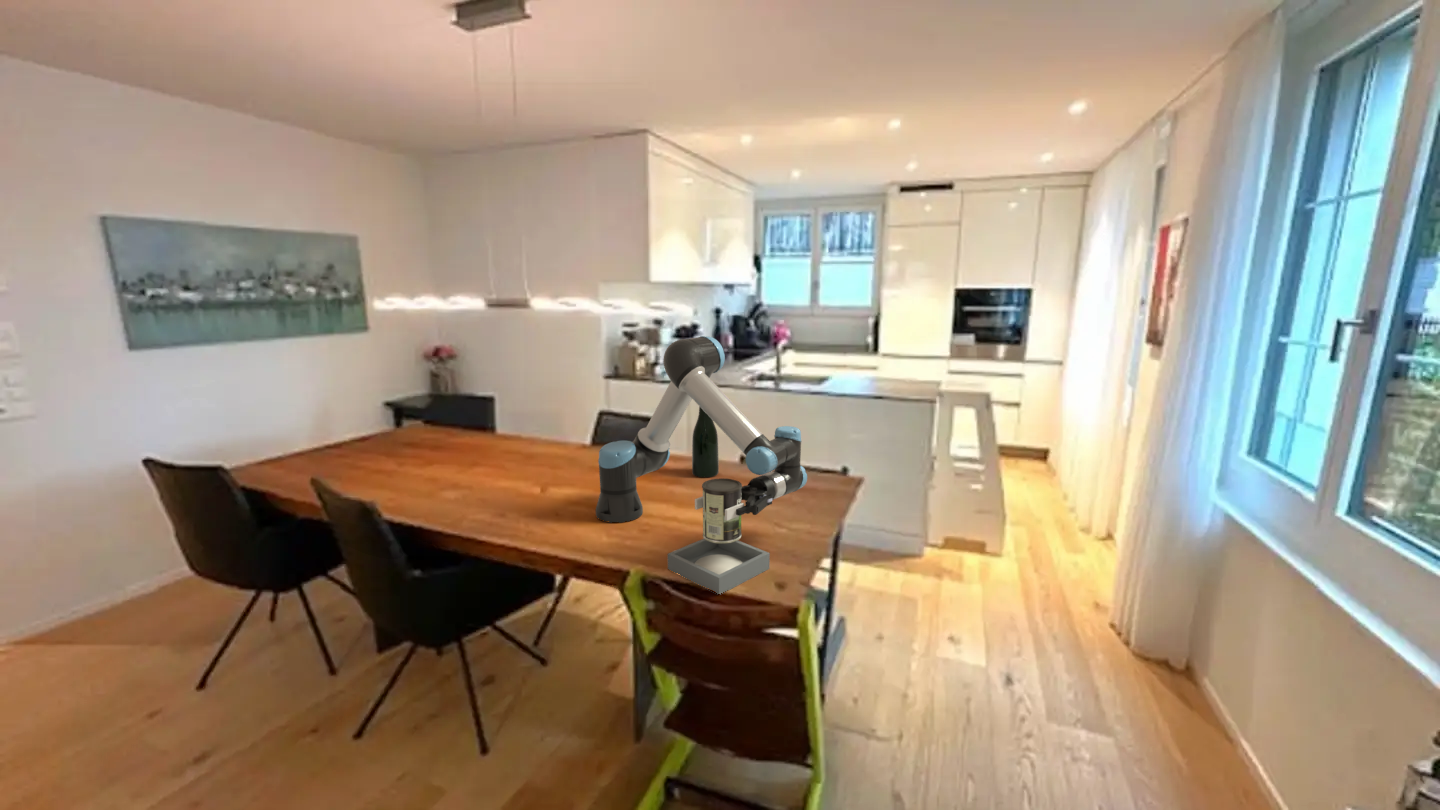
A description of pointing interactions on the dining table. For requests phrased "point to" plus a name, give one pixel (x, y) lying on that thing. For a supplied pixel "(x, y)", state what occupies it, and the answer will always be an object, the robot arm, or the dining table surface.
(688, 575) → the walled box
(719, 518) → the coffee can
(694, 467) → the beer bottle
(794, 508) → the dining table surface
